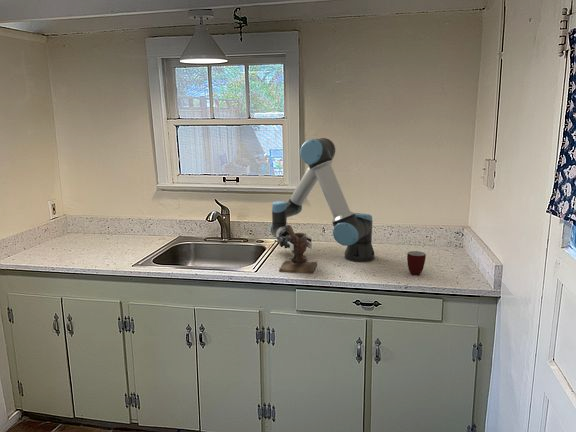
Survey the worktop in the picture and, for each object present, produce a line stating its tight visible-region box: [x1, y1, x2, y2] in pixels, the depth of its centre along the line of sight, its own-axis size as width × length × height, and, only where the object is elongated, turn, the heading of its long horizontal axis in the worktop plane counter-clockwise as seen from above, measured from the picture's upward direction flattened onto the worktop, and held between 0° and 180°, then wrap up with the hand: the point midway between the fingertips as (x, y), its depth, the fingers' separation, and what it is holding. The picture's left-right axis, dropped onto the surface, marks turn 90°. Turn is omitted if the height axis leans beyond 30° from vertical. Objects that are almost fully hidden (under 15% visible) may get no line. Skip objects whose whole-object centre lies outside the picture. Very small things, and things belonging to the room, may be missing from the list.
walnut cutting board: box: [278, 259, 318, 275], centre depth 229 cm, size 16×14×1 cm
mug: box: [406, 250, 427, 276], centre depth 220 cm, size 11×8×10 cm
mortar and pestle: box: [285, 224, 308, 264], centre depth 226 cm, size 12×9×20 cm
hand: (302, 246), depth 223 cm, fingers closed on mortar and pestle, 8 cm apart
